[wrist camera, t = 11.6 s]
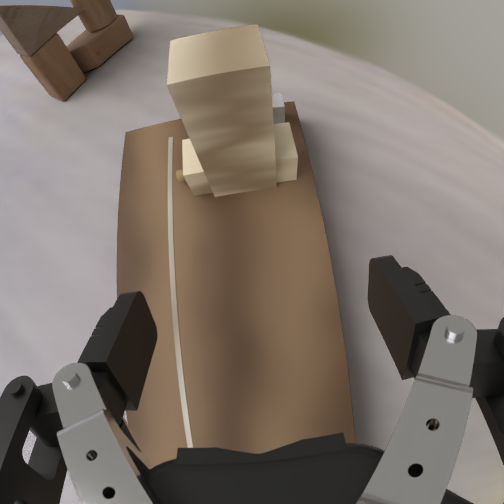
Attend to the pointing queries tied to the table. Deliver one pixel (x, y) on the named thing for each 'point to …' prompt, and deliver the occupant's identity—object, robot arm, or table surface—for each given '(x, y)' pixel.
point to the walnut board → (231, 304)
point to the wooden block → (52, 47)
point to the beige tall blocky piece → (228, 113)
